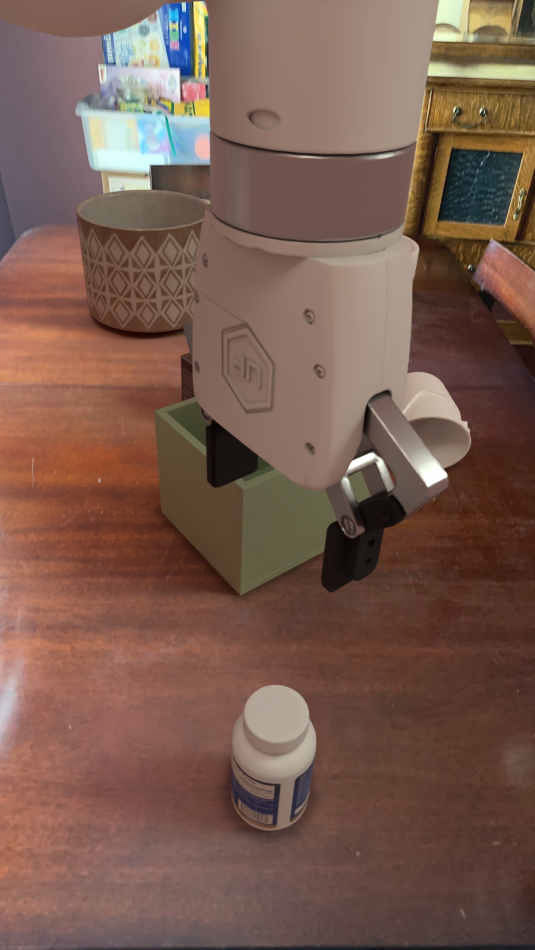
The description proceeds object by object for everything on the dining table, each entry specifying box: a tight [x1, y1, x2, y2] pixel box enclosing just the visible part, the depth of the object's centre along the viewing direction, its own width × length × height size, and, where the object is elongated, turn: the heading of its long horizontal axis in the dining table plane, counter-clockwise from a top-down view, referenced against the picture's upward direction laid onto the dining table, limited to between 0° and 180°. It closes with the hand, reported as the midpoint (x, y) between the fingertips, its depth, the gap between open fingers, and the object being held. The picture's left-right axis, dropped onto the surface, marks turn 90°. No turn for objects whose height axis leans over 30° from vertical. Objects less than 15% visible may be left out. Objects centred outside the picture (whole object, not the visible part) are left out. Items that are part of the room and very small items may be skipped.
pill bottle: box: [230, 684, 317, 832], centre depth 44 cm, size 5×5×10 cm
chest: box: [153, 397, 371, 596], centre depth 65 cm, size 16×14×12 cm
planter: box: [75, 189, 210, 333], centre depth 102 cm, size 19×19×16 cm
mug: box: [402, 371, 472, 469], centre depth 78 cm, size 12×9×8 cm
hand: (285, 523), depth 36 cm, fingers open, 9 cm apart
